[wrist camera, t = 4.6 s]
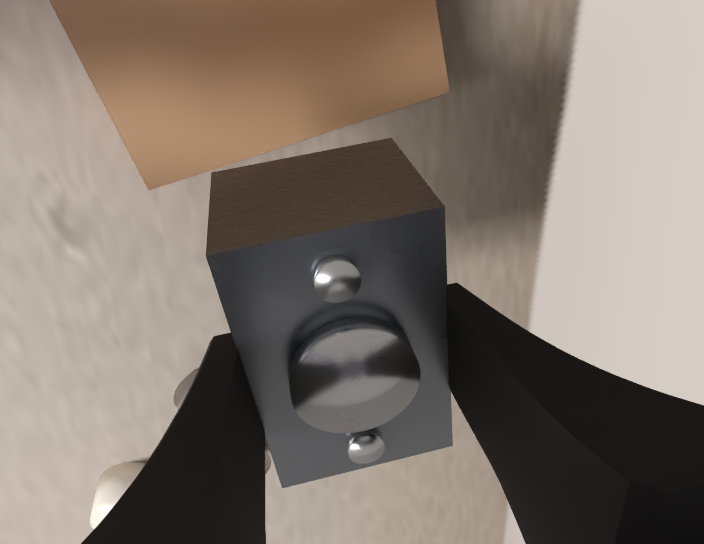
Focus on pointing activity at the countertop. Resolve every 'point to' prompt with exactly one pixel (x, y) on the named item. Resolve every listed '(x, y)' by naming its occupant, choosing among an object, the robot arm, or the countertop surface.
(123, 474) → the white rounded knob
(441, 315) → the housing
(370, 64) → the stand
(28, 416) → the countertop surface
